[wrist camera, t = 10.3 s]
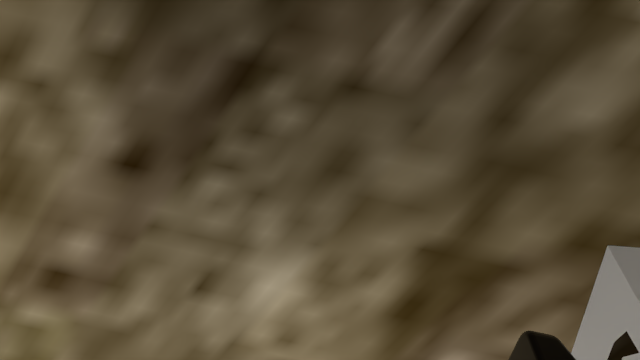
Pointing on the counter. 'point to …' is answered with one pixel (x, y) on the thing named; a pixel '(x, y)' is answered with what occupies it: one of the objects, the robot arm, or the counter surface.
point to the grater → (612, 306)
